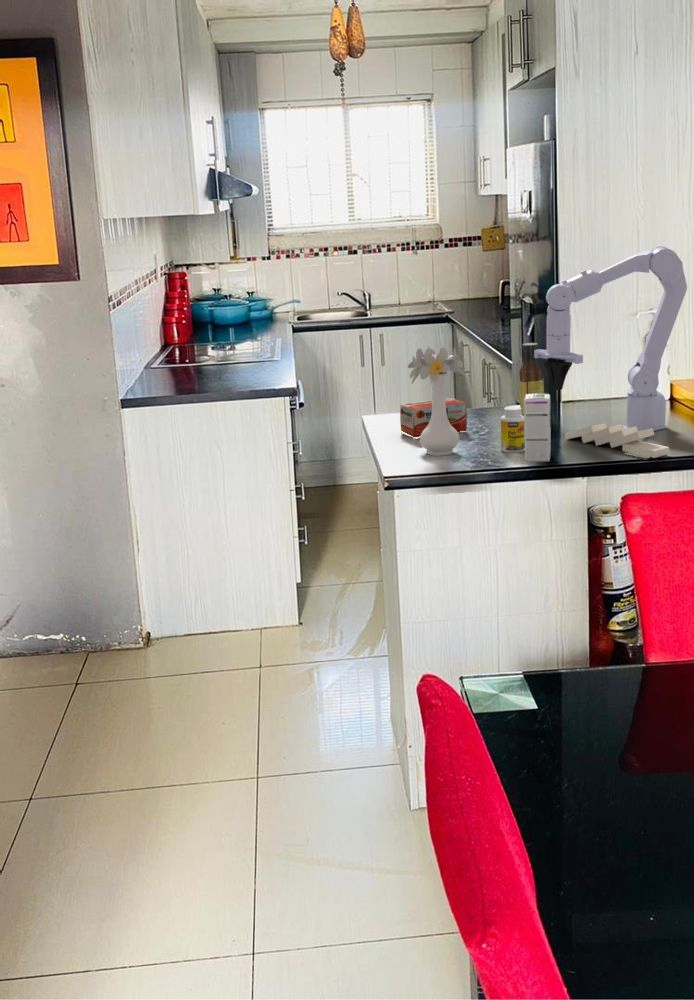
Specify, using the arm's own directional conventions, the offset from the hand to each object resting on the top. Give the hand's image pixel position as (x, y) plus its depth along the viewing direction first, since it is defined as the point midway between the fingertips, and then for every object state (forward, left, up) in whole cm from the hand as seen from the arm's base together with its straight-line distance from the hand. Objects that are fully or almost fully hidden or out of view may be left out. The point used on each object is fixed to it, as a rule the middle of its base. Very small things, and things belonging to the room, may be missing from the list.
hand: (557, 389), depth 263 cm
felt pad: (+4, +31, -10) cm, 32 cm away
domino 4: (+3, +22, -9) cm, 24 cm away
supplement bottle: (+22, +7, -11) cm, 25 cm away
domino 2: (+3, +14, -10) cm, 17 cm away
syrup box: (+23, +16, -11) cm, 30 cm away
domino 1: (+3, +8, -10) cm, 13 cm away
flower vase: (+36, -4, -11) cm, 37 cm away
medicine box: (+23, -20, -11) cm, 33 cm away
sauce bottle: (-5, -14, -11) cm, 18 cm away
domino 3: (+3, +17, -10) cm, 20 cm away
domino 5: (+3, +26, -9) cm, 28 cm away
